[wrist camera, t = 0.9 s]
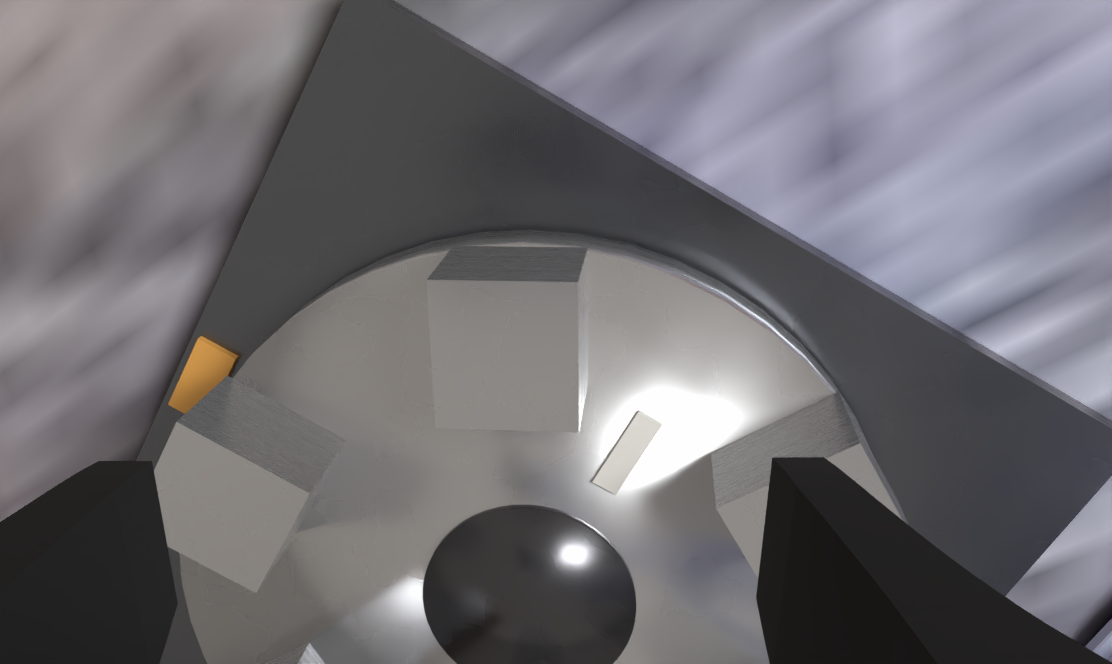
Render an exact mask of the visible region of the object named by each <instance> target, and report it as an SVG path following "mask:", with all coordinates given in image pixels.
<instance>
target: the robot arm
mask: <svg viewBox="0 0 1112 664" xmlns="http://www.w3.org/2000/svg"><path fill="white" fill-rule="evenodd" d="M756 600H757V605H758V610H759V615H760V620H761V625H762V630H763V635H764V640H765V645H766V649H767V654H768V658H769V663H770V664H1112V619H1111V620H1110V621H1109V622H1108V623H1107V624H1106V625H1105V626H1104V627H1103V628H1102V629H1101V630H1100V631H1099V632H1098V633H1097V634H1096V636H1095V637H1094V638H1093V639H1092V640H1091V641H1090V642H1089V643H1088V644H1087V645H1086V646H1085V647H1084V646H1083V645H1081V644H1079V643H1078V642H1076V641H1074V640H1073V639H1071V638H1069V637H1068V636H1066V635H1064V634H1063V633H1061V632H1059V631H1057V630H1056V629H1054V628H1052V627H1051V626H1049V625H1047V624H1046V623H1044V622H1043V621H1041V620H1039V619H1038V618H1036V617H1035V616H1033V615H1032V614H1030V613H1029V612H1027V611H1025V610H1024V609H1022V608H1021V607H1019V606H1018V605H1016V604H1015V603H1013V602H1012V601H1011V600H1009V599H1008V598H1006V597H1005V596H1003V595H1002V594H1000V593H999V592H998V591H996V590H995V589H993V588H992V587H990V586H989V585H988V584H986V583H985V582H983V581H982V580H980V579H979V578H977V577H976V576H975V575H973V574H972V573H970V572H969V571H968V570H966V569H965V568H964V567H962V566H961V565H960V564H958V563H957V562H956V561H954V560H953V559H951V558H950V557H949V556H947V555H946V554H945V553H944V552H942V551H941V550H940V549H938V548H937V547H936V546H934V545H933V544H932V543H931V542H929V541H928V540H927V539H925V538H924V537H923V536H922V535H920V534H919V533H918V532H917V531H915V530H914V529H913V528H911V527H910V526H909V525H908V524H907V523H905V522H904V521H903V520H902V519H900V518H899V517H898V516H897V515H895V514H894V513H893V512H892V511H890V510H889V509H888V508H887V507H886V506H884V505H883V504H882V503H881V502H880V501H878V500H877V499H876V498H875V497H873V496H872V495H871V494H870V493H869V492H867V491H866V490H865V489H864V488H863V487H861V486H860V485H859V484H858V483H856V482H855V481H854V480H853V479H852V478H850V477H849V476H848V475H847V474H845V473H844V472H843V471H842V470H840V469H839V468H838V467H837V466H835V465H834V464H833V463H831V462H830V461H828V460H827V459H826V458H824V457H773V458H772V464H771V473H770V481H769V490H768V498H767V507H766V516H765V524H764V533H763V542H762V550H761V559H760V567H759V576H758V585H757V593H756ZM177 605H178V602H177V596H176V591H175V585H174V580H173V574H172V568H171V563H170V557H169V552H168V546H167V541H166V535H165V530H164V524H163V519H162V513H161V508H160V502H159V497H158V491H157V486H156V480H155V475H154V469H153V464H152V461H98V462H96V463H95V464H93V465H91V466H89V467H87V468H85V469H83V470H82V471H80V472H78V473H76V474H75V475H73V476H72V477H70V478H68V479H67V480H65V481H63V482H62V483H60V484H59V485H57V486H55V487H54V488H52V489H51V490H49V491H48V492H46V493H45V494H43V495H41V496H40V497H38V498H37V499H35V500H34V501H32V502H31V503H29V504H28V505H26V506H24V507H23V508H21V509H20V510H18V511H17V512H15V513H14V514H12V515H11V516H9V517H8V518H6V519H4V520H3V521H1V522H0V664H159V663H160V660H161V657H162V654H163V651H164V648H165V645H166V642H167V638H168V635H169V631H170V628H171V625H172V621H173V618H174V615H175V611H176V608H177Z"/></svg>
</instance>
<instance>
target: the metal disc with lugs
mask: <svg viewBox="0 0 1112 664" xmlns="http://www.w3.org/2000/svg"><path fill="white" fill-rule="evenodd" d="M773 457H824V458H826V459H827V460H828V461H830V462H831V463H833V464H834V465H835V466H837V467H838V468H839V469H840V470H842V471H843V472H844V473H845V474H847V475H848V476H849V477H850V478H852V479H853V480H854V481H855V482H856V483H858V484H859V485H860V486H861V487H863V488H864V489H865V490H866V491H867V492H869V493H870V494H871V495H872V496H873V497H875V498H876V499H877V500H878V501H880V502H881V503H882V504H883V505H884V506H886V507H887V508H888V509H889V510H890V511H892V512H893V513H894V514H895V515H897V516H898V517H899V518H900V519H902V520H903V521H904V522H905V523H907V520H906V518H905V516H904V514H903V511H902V509H901V507H900V505H899V502H898V500H897V498H896V496H895V494H894V492H893V490H892V488H891V487H890V485H889V483H888V481H887V479H886V477H885V476H884V474H883V472H882V470H881V468H880V466H879V465H878V463H877V461H876V459H875V457H874V455H873V453H872V452H871V450H870V447H869V445H868V443H867V441H866V439H865V436H864V434H863V432H862V430H861V428H860V425H859V423H858V421H857V419H856V416H855V415H854V413H853V412H852V410H851V409H850V407H849V405H848V404H847V402H846V401H845V399H844V398H843V396H842V395H841V393H840V391H839V390H838V388H837V387H836V385H835V384H834V382H833V380H832V379H831V377H830V376H829V375H828V374H827V373H826V372H825V370H824V369H823V368H822V367H821V366H820V365H819V363H818V362H817V361H816V360H815V359H814V358H813V357H812V355H811V354H810V353H809V352H808V351H807V350H806V348H805V347H804V346H803V345H802V344H801V343H800V342H799V341H798V340H797V339H796V338H795V337H794V336H793V335H792V334H790V333H789V332H788V331H787V330H786V329H785V328H784V327H782V326H781V325H780V324H779V323H778V322H777V321H776V320H774V319H773V318H772V317H771V316H770V315H769V314H768V313H767V312H765V311H764V310H763V309H762V308H760V307H759V306H757V305H756V304H754V303H753V302H751V301H750V300H748V299H747V298H745V297H744V296H742V295H741V294H739V293H738V292H736V291H735V290H733V289H732V288H730V287H729V286H727V285H726V284H724V283H723V282H721V281H719V280H717V279H715V278H713V277H711V276H709V275H707V274H705V273H702V272H700V271H698V270H696V269H694V268H692V267H690V266H688V265H686V264H684V263H682V262H680V261H678V260H676V259H673V258H670V257H667V256H664V255H661V254H658V253H655V252H652V251H649V250H646V249H644V248H641V247H638V246H635V245H632V244H629V243H624V242H619V241H614V240H609V239H604V238H600V237H595V236H590V235H585V234H580V233H568V232H555V231H541V230H513V231H494V232H479V233H473V234H468V235H463V236H457V237H452V238H447V239H441V240H436V241H431V242H428V243H425V244H422V245H419V246H416V247H413V248H410V249H407V250H404V251H401V252H398V253H395V254H392V255H389V256H386V257H384V258H382V259H380V260H378V261H376V262H374V263H372V264H370V265H368V266H366V267H364V268H362V269H360V270H358V271H356V272H354V273H352V274H350V275H348V276H346V277H344V278H343V279H341V280H340V281H338V282H337V283H335V284H334V285H332V286H331V287H329V288H328V289H327V290H325V291H324V292H322V293H321V294H319V295H318V296H316V297H315V298H313V299H312V300H310V301H309V302H308V303H307V304H306V305H305V306H303V307H302V308H301V309H300V310H299V311H298V312H297V313H296V314H295V315H294V316H293V317H291V318H290V319H289V320H288V321H287V322H286V323H285V324H284V325H283V326H282V327H281V328H279V329H278V330H277V331H276V332H275V333H274V334H273V335H272V336H271V337H270V338H269V339H268V340H266V341H265V342H264V343H263V344H262V345H261V346H260V347H259V348H258V349H257V350H256V351H255V352H253V353H252V355H251V356H250V357H249V358H248V360H247V361H246V362H245V363H244V365H243V366H242V367H241V368H240V370H239V371H238V372H237V373H236V375H235V376H234V377H233V378H231V377H229V376H228V375H227V376H226V377H225V378H224V379H223V380H222V381H221V382H220V383H219V384H217V385H216V386H215V387H214V388H213V389H212V390H211V391H210V392H209V393H208V394H206V395H205V396H204V397H203V398H202V399H201V400H200V401H199V402H198V403H197V404H195V405H194V406H193V407H192V408H191V409H190V410H189V411H188V412H187V413H186V414H185V415H183V416H182V417H181V418H180V419H179V420H178V421H177V422H176V424H175V426H174V428H173V430H172V433H171V435H170V437H169V439H168V441H167V443H166V446H165V448H164V450H163V452H162V454H161V456H160V459H159V461H158V463H157V465H156V467H155V469H154V475H155V480H156V486H157V491H158V497H159V502H160V508H161V513H162V519H163V524H164V530H165V535H166V541H167V546H168V547H169V548H171V549H173V550H175V551H177V552H179V555H180V567H181V578H182V585H183V590H184V594H185V598H186V603H187V607H188V611H189V616H190V620H191V623H192V626H193V629H194V631H195V634H196V637H197V639H198V642H199V645H200V647H201V650H202V653H203V655H204V658H205V660H206V662H207V664H770V663H769V658H768V654H767V649H766V645H765V640H764V635H763V630H762V625H761V620H760V615H759V610H758V605H757V600H756V593H757V585H758V576H759V567H760V559H761V550H762V542H763V533H764V524H765V516H766V507H767V498H768V490H769V481H770V473H771V464H772V458H773ZM907 524H908V523H907Z"/></svg>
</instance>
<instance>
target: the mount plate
mask: <svg viewBox="0 0 1112 664" xmlns="http://www.w3.org/2000/svg"><path fill="white" fill-rule="evenodd" d="M513 230H541V231H555V232H568V233H580V234H585V235H590V236H595V237H600V238H604V239H609V240H614V241H619V242H624V243H629V244H632V245H635V246H638V247H641V248H644V249H646V250H649V251H652V252H655V253H658V254H661V255H664V256H667V257H670V258H673V259H676V260H678V261H680V262H682V263H684V264H686V265H688V266H690V267H692V268H694V269H696V270H698V271H700V272H702V273H705V274H707V275H709V276H711V277H713V278H715V279H717V280H719V281H721V282H723V283H724V284H726V285H727V286H729V287H730V288H732V289H733V290H735V291H736V292H738V293H739V294H741V295H742V296H744V297H745V298H747V299H748V300H750V301H751V302H753V303H754V304H756V305H757V306H759V307H760V308H762V309H763V310H764V311H765V312H767V313H768V314H769V315H770V316H771V317H772V318H773V319H774V320H776V321H777V322H778V323H779V324H780V325H781V326H782V327H784V328H785V329H786V330H787V331H788V332H789V333H790V334H792V335H793V336H794V337H795V338H796V339H797V340H798V341H799V342H800V343H801V344H802V345H803V346H804V347H805V348H806V350H807V351H808V352H809V353H810V354H811V355H812V357H813V358H814V359H815V360H816V361H817V362H818V363H819V365H820V366H821V367H822V368H823V369H824V370H825V372H826V373H827V374H828V375H829V376H830V377H831V379H832V380H833V382H834V384H835V385H836V387H837V388H838V390H839V391H840V393H841V395H842V396H843V398H844V399H845V401H846V402H847V404H848V405H849V407H850V409H851V410H852V412H853V413H854V415H855V416H856V419H857V421H858V423H859V425H860V428H861V430H862V432H863V434H864V436H865V439H866V441H867V443H868V445H869V447H870V450H871V452H872V453H873V455H874V457H875V459H876V461H877V463H878V465H879V466H880V468H881V470H882V472H883V474H884V476H885V477H886V479H887V481H888V483H889V485H890V487H891V488H892V490H893V492H894V494H895V496H896V498H897V500H898V502H899V505H900V507H901V509H902V511H903V514H904V516H905V518H906V520H907V523H908V525H909V526H910V527H911V528H913V529H914V530H915V531H917V532H918V533H919V534H920V535H922V536H923V537H924V538H925V539H927V540H928V541H929V542H931V543H932V544H933V545H934V546H936V547H937V548H938V549H940V550H941V551H942V552H944V553H945V554H946V555H947V556H949V557H950V558H951V559H953V560H954V561H956V562H957V563H958V564H960V565H961V566H962V567H964V568H965V569H966V570H968V571H969V572H970V573H972V574H973V575H975V576H976V577H977V578H979V579H980V580H982V581H983V582H985V583H986V584H988V585H989V586H990V587H992V588H993V589H995V590H996V591H998V592H999V593H1000V594H1002V595H1003V596H1006V595H1007V593H1008V592H1009V591H1010V590H1011V589H1012V588H1013V587H1014V585H1015V584H1016V583H1017V582H1018V581H1019V580H1020V579H1021V578H1022V576H1023V575H1024V574H1025V573H1026V572H1027V571H1028V570H1029V569H1030V567H1031V566H1032V565H1033V564H1034V563H1035V562H1036V561H1037V559H1038V558H1039V557H1040V556H1041V555H1042V554H1043V553H1044V552H1045V550H1046V549H1047V548H1048V547H1049V546H1050V545H1051V544H1052V543H1053V541H1054V540H1055V539H1056V538H1057V537H1058V536H1059V535H1060V533H1061V532H1062V531H1063V530H1064V529H1065V528H1066V527H1067V526H1068V524H1069V523H1070V522H1071V521H1072V520H1073V519H1074V518H1075V516H1076V515H1077V514H1078V513H1079V512H1080V511H1081V510H1082V509H1083V507H1084V506H1085V505H1086V504H1087V503H1088V502H1089V501H1090V500H1091V498H1092V497H1093V496H1094V495H1095V494H1096V493H1097V492H1098V490H1099V489H1100V488H1101V487H1102V486H1103V485H1104V484H1105V483H1106V481H1107V480H1108V479H1109V478H1110V477H1111V476H1112V421H1111V420H1109V419H1107V418H1106V417H1104V416H1102V415H1100V414H1099V413H1097V412H1095V411H1094V410H1092V409H1090V408H1089V407H1087V406H1085V405H1083V404H1082V403H1080V402H1078V401H1077V400H1075V399H1073V398H1071V397H1070V396H1068V395H1066V394H1065V393H1063V392H1061V391H1059V390H1058V389H1056V388H1054V387H1053V386H1051V385H1049V384H1048V383H1046V382H1044V381H1042V380H1041V379H1039V378H1037V377H1036V376H1034V375H1032V374H1030V373H1029V372H1027V371H1025V370H1024V369H1022V368H1020V367H1018V366H1017V365H1015V364H1013V363H1012V362H1010V361H1008V360H1006V359H1005V358H1003V357H1001V356H1000V355H998V354H996V353H995V352H993V351H991V350H989V349H988V348H986V347H984V346H983V345H981V344H979V343H977V342H976V341H974V340H972V339H971V338H969V337H967V336H965V335H964V334H962V333H960V332H959V331H957V330H955V329H954V328H952V327H950V326H948V325H947V324H945V323H943V322H942V321H940V320H938V319H936V318H935V317H933V316H931V315H930V314H928V313H926V312H924V311H923V310H921V309H919V308H918V307H916V306H914V305H913V304H911V303H909V302H907V301H906V300H904V299H902V298H901V297H899V296H897V295H895V294H894V293H892V292H890V291H889V290H887V289H885V288H883V287H882V286H880V285H878V284H877V283H875V282H873V281H872V280H870V279H868V278H866V277H865V276H863V275H861V274H860V273H858V272H856V271H854V270H853V269H851V268H849V267H848V266H846V265H844V264H842V263H841V262H839V261H837V260H836V259H834V258H832V257H830V256H829V255H827V254H825V253H824V252H822V251H820V250H819V249H817V248H815V247H813V246H812V245H810V244H808V243H807V242H805V241H803V240H801V239H800V238H798V237H796V236H795V235H793V234H791V233H789V232H788V231H786V230H784V229H783V228H781V227H779V226H778V225H776V224H774V223H772V222H771V221H769V220H767V219H766V218H764V217H762V216H760V215H759V214H757V213H755V212H754V211H752V210H750V209H748V208H747V207H745V206H743V205H742V204H740V203H738V202H737V201H735V200H733V199H731V198H730V197H728V196H726V195H725V194H723V193H721V192H719V191H718V190H716V189H714V188H713V187H711V186H709V185H707V184H706V183H704V182H702V181H701V180H699V179H697V178H695V177H694V176H692V175H690V174H689V173H687V172H685V171H684V170H682V169H680V168H678V167H677V166H675V165H673V164H672V163H670V162H668V161H666V160H665V159H663V158H661V157H660V156H658V155H656V154H654V153H653V152H651V151H649V150H648V149H646V148H644V147H643V146H641V145H639V144H637V143H636V142H634V141H632V140H631V139H629V138H627V137H625V136H624V135H622V134H620V133H619V132H617V131H615V130H613V129H612V128H610V127H608V126H607V125H605V124H603V123H602V122H600V121H598V120H596V119H595V118H593V117H591V116H590V115H588V114H586V113H584V112H583V111H581V110H579V109H578V108H576V107H574V106H572V105H571V104H569V103H567V102H566V101H564V100H562V99H561V98H559V97H557V96H555V95H554V94H552V93H550V92H549V91H547V90H545V89H543V88H542V87H540V86H538V85H537V84H535V83H533V82H531V81H530V80H528V79H526V78H525V77H523V76H521V75H519V74H518V73H516V72H514V71H513V70H511V69H509V68H508V67H506V66H504V65H502V64H501V63H499V62H497V61H496V60H494V59H492V58H490V57H489V56H487V55H485V54H484V53H482V52H480V51H478V50H477V49H475V48H473V47H472V46H470V45H468V44H467V43H465V42H463V41H461V40H460V39H458V38H456V37H455V36H453V35H451V34H449V33H448V32H446V31H444V30H443V29H441V28H439V27H437V26H436V25H434V24H432V23H431V22H429V21H427V20H426V19H424V18H422V17H420V16H419V15H417V14H415V13H414V12H412V11H410V10H408V9H407V8H405V7H403V6H402V5H400V4H398V3H396V2H395V1H393V0H344V1H343V3H342V5H341V8H340V10H339V12H338V14H337V17H336V19H335V21H334V23H333V25H332V28H331V30H330V32H329V34H328V36H327V39H326V41H325V43H324V45H323V47H322V50H321V52H320V54H319V56H318V59H317V61H316V63H315V65H314V67H313V70H312V72H311V74H310V76H309V78H308V81H307V83H306V85H305V87H304V90H303V92H302V94H301V96H300V98H299V101H298V103H297V105H296V107H295V109H294V112H293V114H292V116H291V118H290V120H289V123H288V125H287V127H286V129H285V132H284V134H283V136H282V138H281V140H280V143H279V145H278V147H277V149H276V151H275V154H274V156H273V158H272V160H271V163H270V165H269V167H268V169H267V171H266V174H265V176H264V178H263V180H262V182H261V185H260V187H259V189H258V191H257V194H256V196H255V198H254V200H253V202H252V205H251V207H250V209H249V211H248V213H247V216H246V218H245V220H244V222H243V224H242V227H241V229H240V231H239V233H238V236H237V238H236V240H235V242H234V244H233V247H232V249H231V251H230V253H229V255H228V258H227V260H226V262H225V264H224V267H223V269H222V271H221V273H220V275H219V278H218V280H217V282H216V284H215V286H214V289H213V291H212V293H211V295H210V297H209V300H208V302H207V304H206V306H205V309H204V311H203V313H202V315H201V317H200V320H199V322H198V324H197V326H196V328H195V331H194V333H193V335H192V337H191V340H190V342H189V344H188V346H187V348H186V351H185V353H184V355H183V357H182V359H181V362H180V364H179V366H178V368H177V370H176V373H175V375H174V377H173V379H172V382H171V384H170V386H169V388H168V390H167V393H166V395H165V397H164V399H163V401H162V404H161V406H160V408H159V410H158V413H157V415H156V417H155V419H154V421H153V424H152V426H151V428H150V430H149V432H148V435H147V437H146V439H145V441H144V443H143V446H142V448H141V450H140V452H139V455H138V457H137V459H136V461H152V464H153V469H155V467H156V465H157V463H158V461H159V459H160V456H161V454H162V452H163V450H164V448H165V446H166V443H167V441H168V439H169V437H170V435H171V433H172V430H173V428H174V426H175V424H176V422H177V421H178V420H179V419H180V418H181V417H182V416H183V415H185V414H186V413H187V412H188V411H189V410H190V409H191V408H192V407H193V406H194V405H195V404H197V403H198V402H199V401H200V400H201V399H202V398H203V397H204V396H205V395H206V394H208V393H209V392H210V391H211V390H212V389H213V388H214V387H215V386H216V385H217V384H219V383H220V382H221V381H222V380H223V379H224V378H225V377H226V376H227V375H228V376H229V377H231V378H233V377H234V376H235V375H236V373H237V372H238V371H239V370H240V368H241V367H242V366H243V365H244V363H245V362H246V361H247V360H248V358H249V357H250V356H251V355H252V353H253V352H255V351H256V350H257V349H258V348H259V347H260V346H261V345H262V344H263V343H264V342H265V341H266V340H268V339H269V338H270V337H271V336H272V335H273V334H274V333H275V332H276V331H277V330H278V329H279V328H281V327H282V326H283V325H284V324H285V323H286V322H287V321H288V320H289V319H290V318H291V317H293V316H294V315H295V314H296V313H297V312H298V311H299V310H300V309H301V308H302V307H303V306H305V305H306V304H307V303H308V302H309V301H310V300H312V299H313V298H315V297H316V296H318V295H319V294H321V293H322V292H324V291H325V290H327V289H328V288H329V287H331V286H332V285H334V284H335V283H337V282H338V281H340V280H341V279H343V278H344V277H346V276H348V275H350V274H352V273H354V272H356V271H358V270H360V269H362V268H364V267H366V266H368V265H370V264H372V263H374V262H376V261H378V260H380V259H382V258H384V257H386V256H389V255H392V254H395V253H398V252H401V251H404V250H407V249H410V248H413V247H416V246H419V245H422V244H425V243H428V242H431V241H436V240H441V239H447V238H452V237H457V236H463V235H468V234H473V233H479V232H494V231H513ZM168 552H169V557H170V563H171V568H172V574H173V580H174V585H175V591H176V596H177V602H178V605H177V608H176V611H175V615H174V618H173V621H172V625H171V628H170V631H169V635H168V638H167V642H166V645H165V648H164V651H163V654H162V657H161V660H160V663H159V664H207V662H206V660H205V658H204V655H203V653H202V650H201V647H200V645H199V642H198V639H197V637H196V634H195V631H194V629H193V626H192V623H191V620H190V616H189V611H188V607H187V603H186V598H185V594H184V590H183V585H182V578H181V567H180V555H179V552H177V551H175V550H173V549H171V548H169V547H168Z"/></svg>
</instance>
